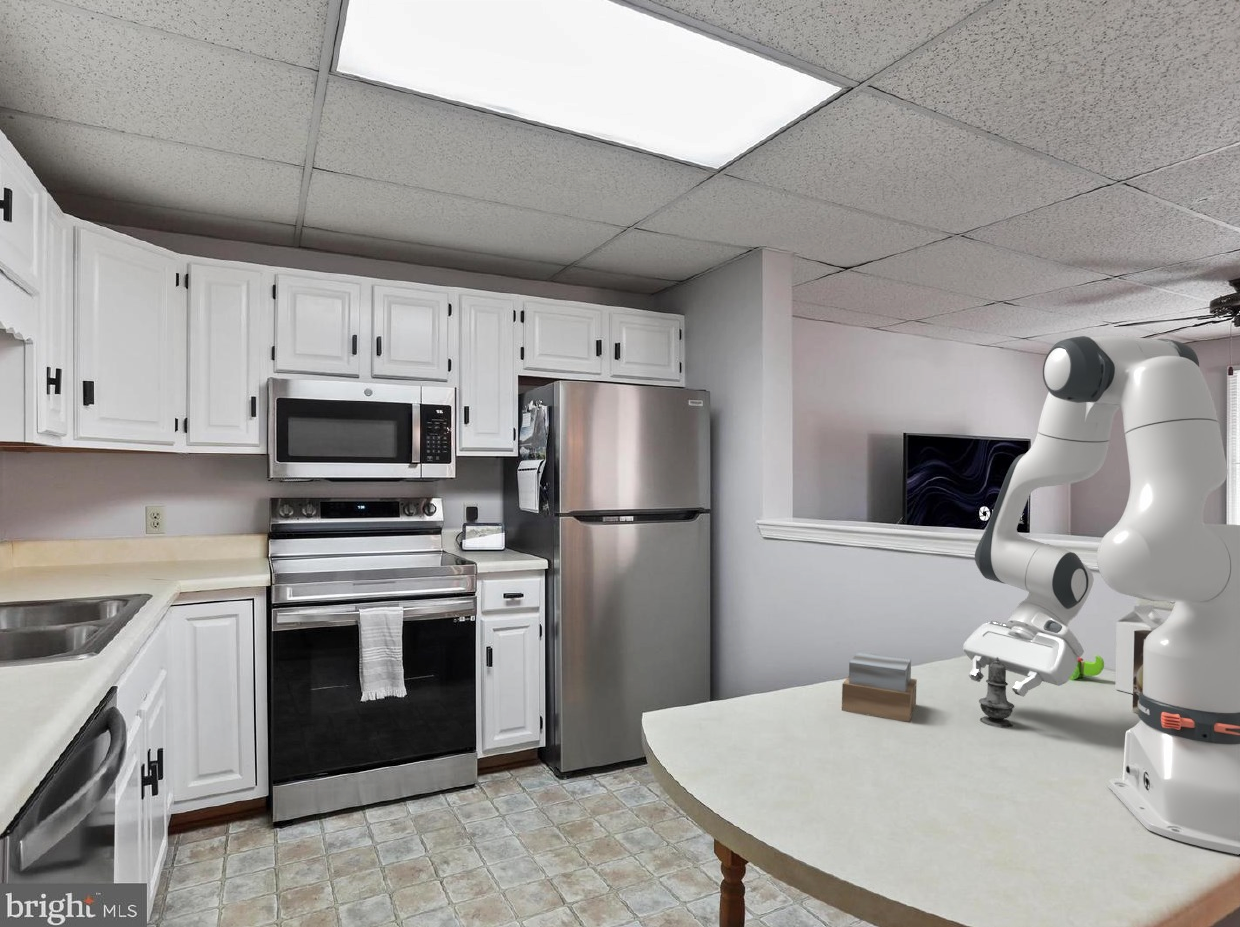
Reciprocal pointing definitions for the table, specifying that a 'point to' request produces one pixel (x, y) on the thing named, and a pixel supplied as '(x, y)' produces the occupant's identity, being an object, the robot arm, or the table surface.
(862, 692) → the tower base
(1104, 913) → the table surface
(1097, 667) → the toy crocodile
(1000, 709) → the salt shaker
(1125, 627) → the milk carton
